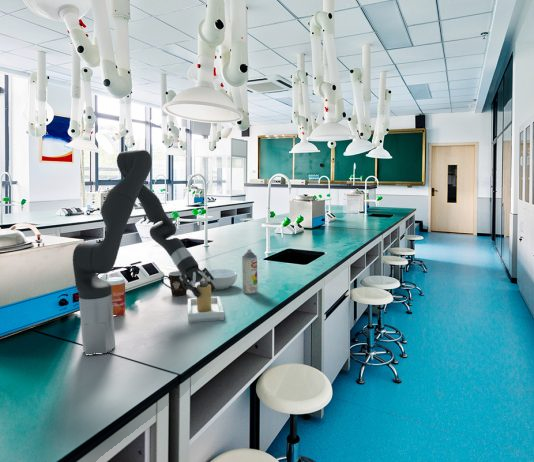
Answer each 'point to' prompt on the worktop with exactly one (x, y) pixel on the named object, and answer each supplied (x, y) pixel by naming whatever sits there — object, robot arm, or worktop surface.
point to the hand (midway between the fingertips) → (206, 293)
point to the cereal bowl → (223, 278)
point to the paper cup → (117, 294)
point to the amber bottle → (204, 297)
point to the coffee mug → (175, 284)
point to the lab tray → (211, 315)
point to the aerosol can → (249, 273)
